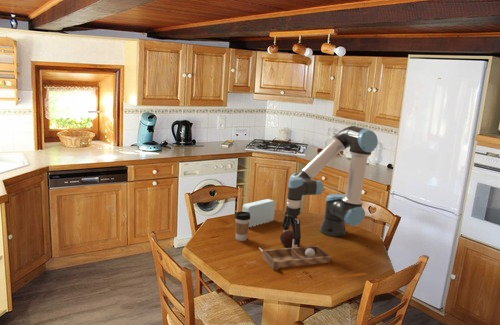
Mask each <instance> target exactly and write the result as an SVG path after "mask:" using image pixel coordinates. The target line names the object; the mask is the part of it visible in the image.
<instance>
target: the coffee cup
mask: <svg viewBox="0 0 500 325" xmlns="http://www.w3.org/2000/svg"><path fill="white" fill-rule="evenodd" d="M234 216H235V217H234V218H235V221H234V222H235V224H234V225H235V240H237V241H239V242H245V241H246V240H247V238H248V231H249V228H248V227H249V219H250V213H249V212H242V211H237V212H235V215H234Z"/></svg>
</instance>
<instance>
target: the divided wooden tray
mask: <svg viewBox="0 0 500 325" xmlns="http://www.w3.org/2000/svg"><path fill="white" fill-rule="evenodd" d="M308 248H312V249H313V250H314V251H315V255H314V257H313V258H308V257H306V255H305V251H306V249H308ZM262 250H263V253H262V252H261V253H262V254H261V259H263V261H264V262H265V263H266V264H267V265H268V266H269V267H270V268H271V270H272V271H276V270H281V268H288V267H289V268H290V267H297V266H298V267H299V266H309V265H317V264H327V263H328V264H329V263H331V260H332V257H331V255H330V254H328V253H327V252H326V251H325V250H324V249H322V248H321V247H320V246H319V245H308V246H298V247H294V248H289V247H284V248H282V247H281V248H273V249H262Z"/></svg>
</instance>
